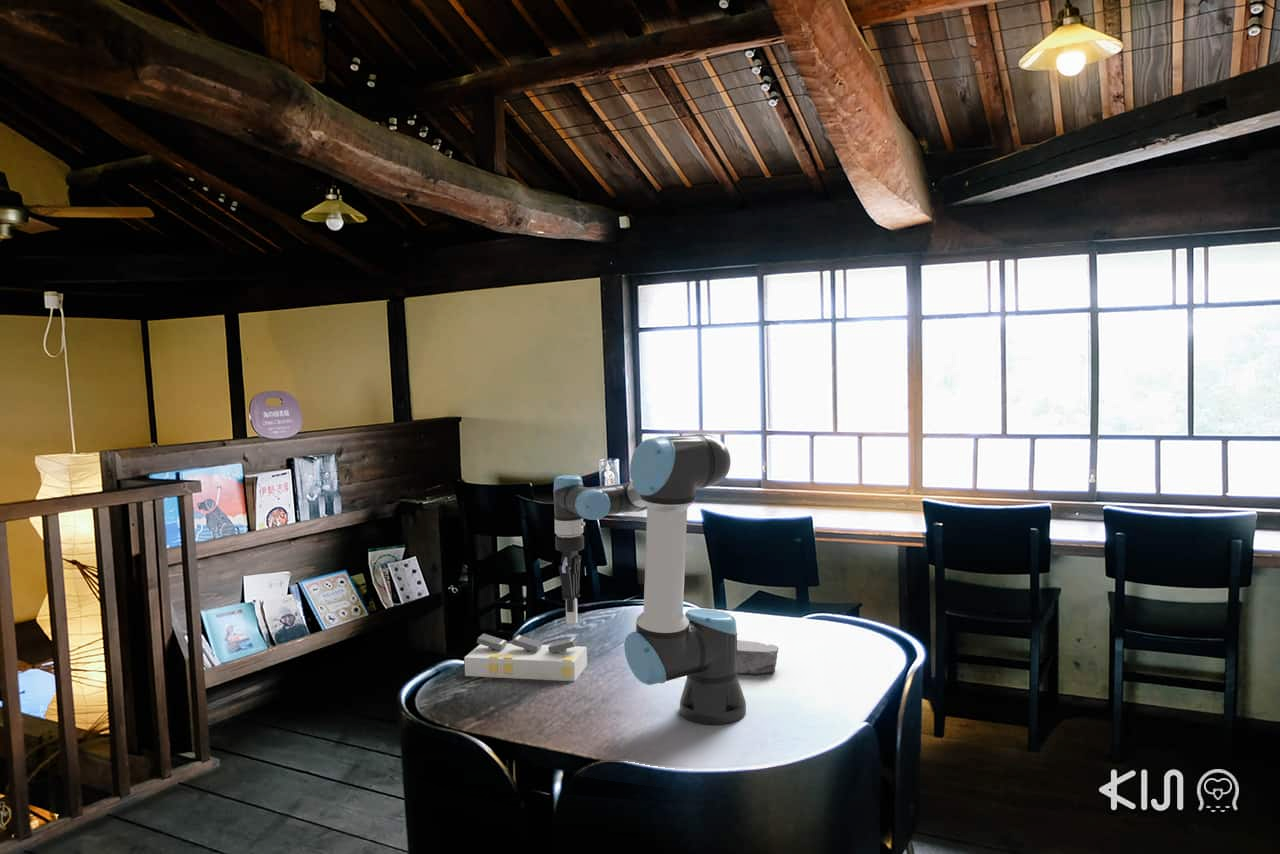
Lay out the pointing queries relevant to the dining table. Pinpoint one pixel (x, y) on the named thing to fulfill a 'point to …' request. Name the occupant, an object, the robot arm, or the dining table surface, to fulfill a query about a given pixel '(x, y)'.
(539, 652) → the switch console
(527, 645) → the rocker middle
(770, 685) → the dining table surface
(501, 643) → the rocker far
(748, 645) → the decorative stone
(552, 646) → the rocker near
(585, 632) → the dining table surface
